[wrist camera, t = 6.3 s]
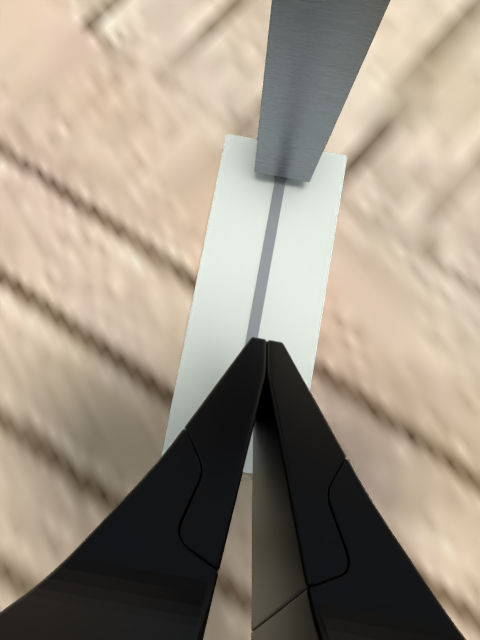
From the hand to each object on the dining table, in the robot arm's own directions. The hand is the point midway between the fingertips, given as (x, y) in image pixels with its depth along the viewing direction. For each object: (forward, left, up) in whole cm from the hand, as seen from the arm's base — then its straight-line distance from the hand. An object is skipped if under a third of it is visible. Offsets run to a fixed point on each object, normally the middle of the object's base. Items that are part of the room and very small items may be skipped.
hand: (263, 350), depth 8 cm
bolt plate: (+2, +1, -9) cm, 10 cm away
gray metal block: (+9, +6, -8) cm, 13 cm away
